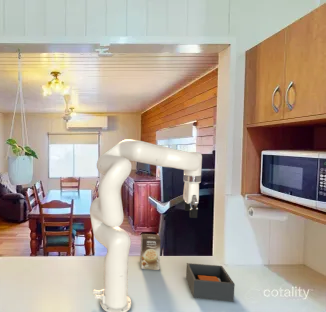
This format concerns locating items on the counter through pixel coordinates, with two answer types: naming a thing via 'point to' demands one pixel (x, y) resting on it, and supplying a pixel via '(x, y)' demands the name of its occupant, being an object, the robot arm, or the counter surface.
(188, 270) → the trash bin
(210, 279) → the block
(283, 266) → the counter surface
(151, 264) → the coffee box
